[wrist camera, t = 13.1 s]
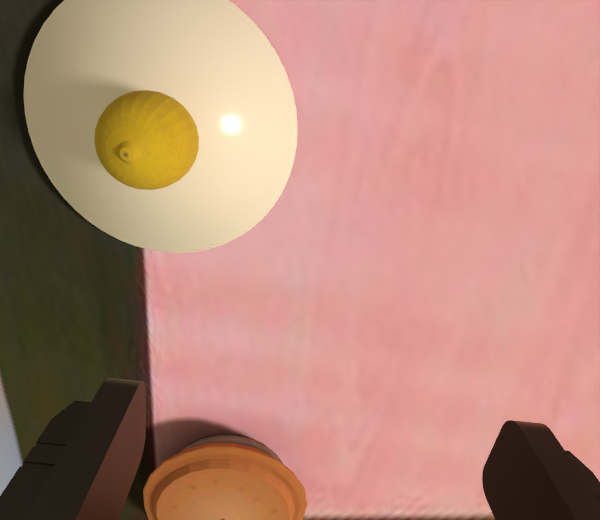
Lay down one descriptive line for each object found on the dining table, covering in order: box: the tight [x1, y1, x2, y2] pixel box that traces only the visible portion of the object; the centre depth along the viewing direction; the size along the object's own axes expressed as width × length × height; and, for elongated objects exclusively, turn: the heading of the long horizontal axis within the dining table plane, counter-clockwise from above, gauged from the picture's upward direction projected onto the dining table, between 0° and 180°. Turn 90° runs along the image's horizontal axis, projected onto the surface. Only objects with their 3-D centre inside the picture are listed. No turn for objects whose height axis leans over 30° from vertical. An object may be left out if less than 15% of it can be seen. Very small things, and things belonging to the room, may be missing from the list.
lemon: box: [94, 90, 199, 190], centre depth 26 cm, size 6×6×8 cm
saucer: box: [24, 0, 298, 253], centre depth 30 cm, size 18×18×1 cm
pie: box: [143, 435, 307, 520], centre depth 43 cm, size 15×16×5 cm
